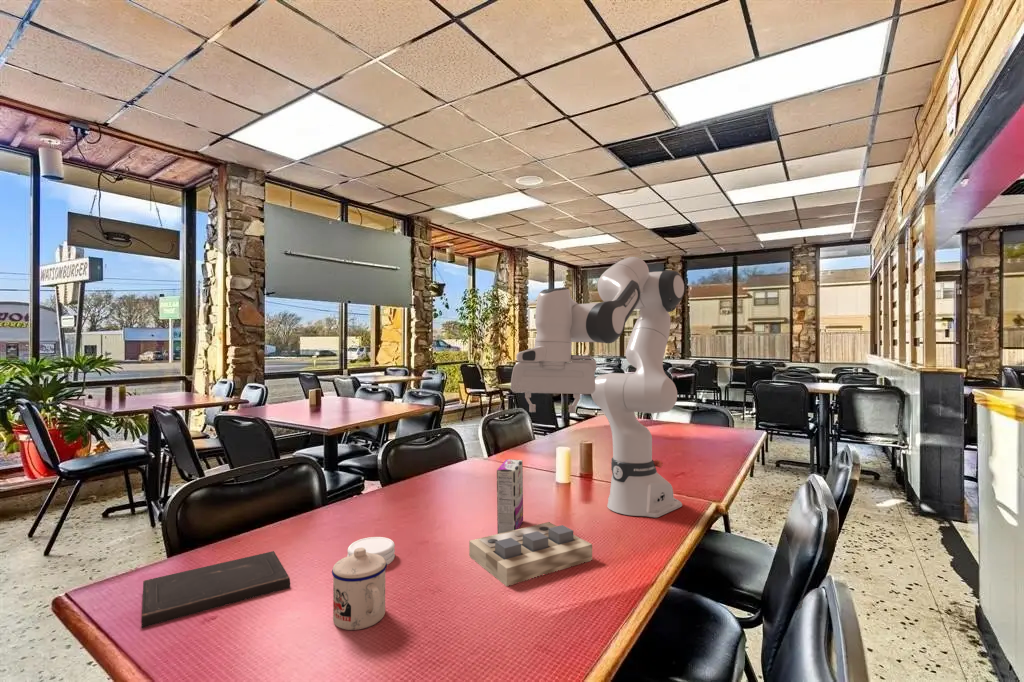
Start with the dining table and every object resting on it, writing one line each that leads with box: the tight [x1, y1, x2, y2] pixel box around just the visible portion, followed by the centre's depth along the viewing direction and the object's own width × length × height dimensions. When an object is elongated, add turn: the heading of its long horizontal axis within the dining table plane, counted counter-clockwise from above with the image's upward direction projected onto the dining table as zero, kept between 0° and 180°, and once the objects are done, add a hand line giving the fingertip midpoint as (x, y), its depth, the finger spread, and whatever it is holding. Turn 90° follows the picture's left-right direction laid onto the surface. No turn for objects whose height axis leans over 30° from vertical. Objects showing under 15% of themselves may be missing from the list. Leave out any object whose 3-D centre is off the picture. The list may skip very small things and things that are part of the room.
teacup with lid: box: [331, 548, 388, 631], centre depth 83 cm, size 12×9×12 cm
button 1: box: [495, 538, 521, 560], centre depth 102 cm, size 4×4×3 cm
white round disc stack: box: [346, 536, 396, 566], centre depth 107 cm, size 10×10×4 cm
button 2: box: [548, 524, 574, 545], centre depth 110 cm, size 4×4×3 cm
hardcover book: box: [141, 550, 291, 629], centre depth 94 cm, size 16×23×2 cm
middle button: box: [523, 531, 548, 552], centre depth 106 cm, size 4×4×3 cm
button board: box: [468, 521, 593, 587], centre depth 108 cm, size 22×16×4 cm
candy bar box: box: [496, 458, 524, 534], centre depth 126 cm, size 11×5×16 cm, turn 168°
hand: (552, 412), depth 116 cm, fingers open, 8 cm apart
